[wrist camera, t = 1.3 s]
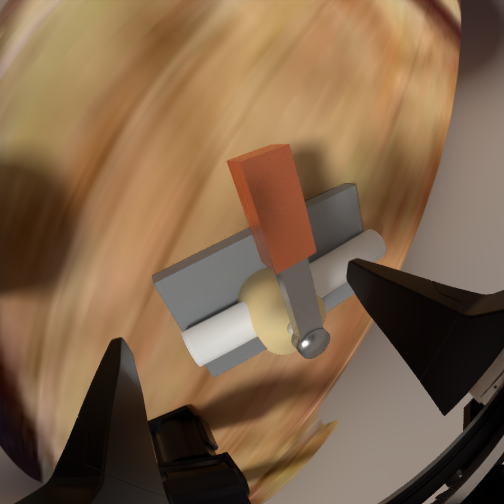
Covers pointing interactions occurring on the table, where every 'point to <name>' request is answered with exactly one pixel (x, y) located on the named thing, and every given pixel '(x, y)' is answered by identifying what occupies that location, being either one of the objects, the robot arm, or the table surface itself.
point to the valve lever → (282, 236)
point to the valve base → (241, 260)
